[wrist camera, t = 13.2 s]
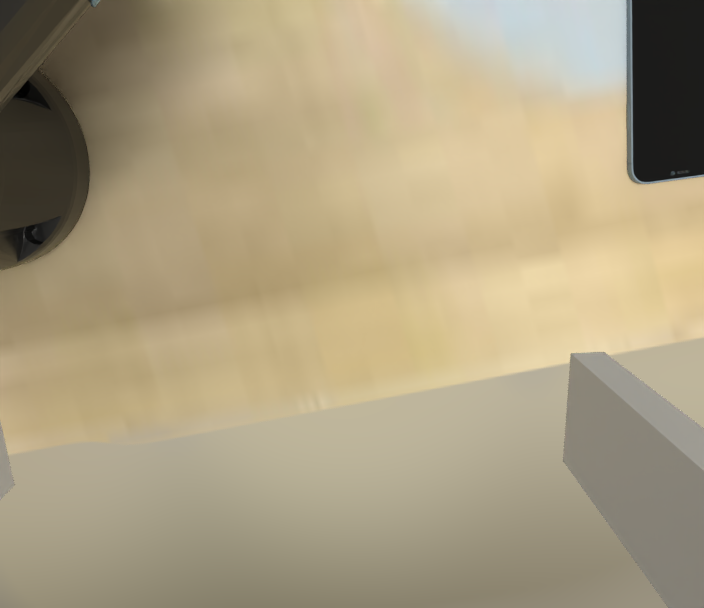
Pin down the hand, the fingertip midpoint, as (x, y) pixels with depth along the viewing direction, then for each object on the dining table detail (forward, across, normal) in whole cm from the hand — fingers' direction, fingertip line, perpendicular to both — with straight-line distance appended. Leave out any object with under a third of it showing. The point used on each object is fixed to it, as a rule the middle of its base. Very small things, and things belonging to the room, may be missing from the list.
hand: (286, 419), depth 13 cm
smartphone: (+29, +25, +10) cm, 40 cm away
